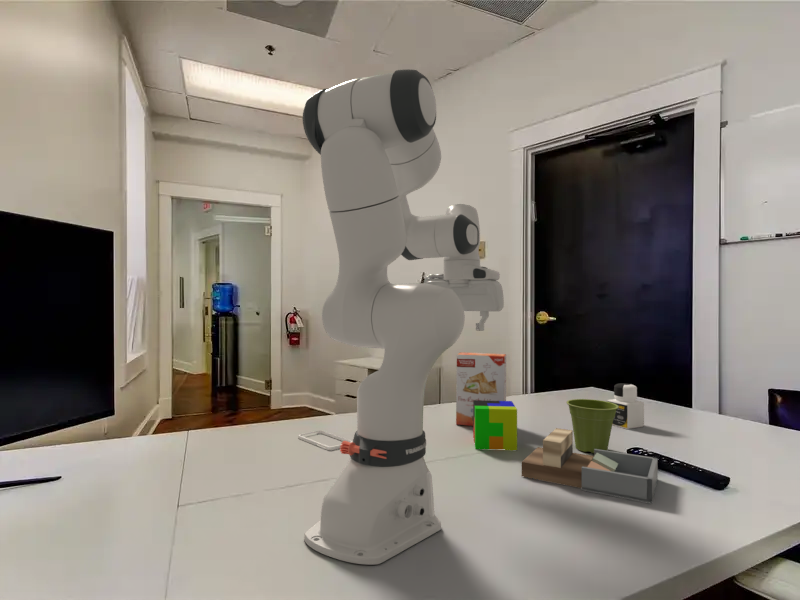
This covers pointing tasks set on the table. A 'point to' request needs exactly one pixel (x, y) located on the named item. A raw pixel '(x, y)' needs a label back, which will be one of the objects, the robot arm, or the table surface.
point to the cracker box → (478, 382)
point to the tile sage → (605, 462)
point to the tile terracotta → (596, 466)
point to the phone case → (323, 444)
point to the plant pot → (591, 423)
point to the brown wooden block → (556, 468)
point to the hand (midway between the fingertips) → (461, 330)
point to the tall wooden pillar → (557, 447)
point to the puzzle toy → (494, 425)
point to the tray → (623, 477)
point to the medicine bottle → (627, 407)
